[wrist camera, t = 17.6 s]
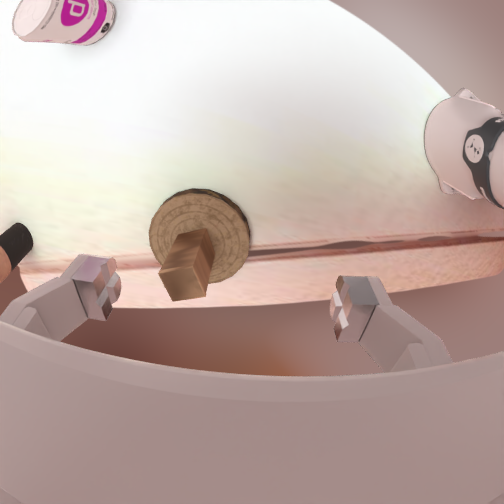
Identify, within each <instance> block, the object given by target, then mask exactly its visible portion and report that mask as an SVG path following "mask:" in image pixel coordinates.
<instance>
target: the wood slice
mask: <svg viewBox="0 0 504 504" xmlns="http://www.w3.org/2000/svg"><path fill="white" fill-rule="evenodd" d="M204 228H206V229H207V232H208V234H209V237H210V240H211V243H212V246H213V248H214V251H215V257H214V261H213V265H212V270H211V274H210V278H209V282H208V284H211V283H217V282H221V281H223V280H225V279H227V278H229V277H232V276H233V275H234V274H235V273H236V272H237V271H238V270H239V269H240V268H241V267H242V266H243V264H244V262H245V260H246V258H247V256H248V251H249V240H250V231H249V227H248V223H247V220H246V217H245V216H244V215H243V213H242V212H241V210H240V209H239V207H238V206H237V205H236V204H235V203H233V202H232V201H231V200H230V199H228V198H227V197H226V196H224V195H222V194H219V193H217V192H214V191H211V190H207V189H189V190H185V191H181V192H178V193H176V194H174V195H173V196H171V197H170V198H168V199H167V200H166V201H165V202H164V203H163V204H162V205H161V207H160V208H159V210H158V211H157V212H156V214H155V215H154V217H153V218H152V221H151V225H150V229H149V240H150V247H151V249H152V251H153V253H154V255H155V258H156V259H157V261H158V262H159V263H160V264H161V265H162V266H163V264H164V261H165V259H166V257H167V255H168V253H169V251H170V249H171V247H172V245H173V243H174V241H175V239H176V237H177V235H178V234H181V233H186V232H190V231H195V230H199V229H204Z"/></svg>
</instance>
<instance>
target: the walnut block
mask: <svg viewBox="0 0 504 504" xmlns="http://www.w3.org/2000/svg"><path fill="white" fill-rule="evenodd" d="M214 257H215V251H214V248H213V246H212V243H211V240H210V237H209V234H208V232H207V229H206V228H204V229H199V230H195V231H190V232H186V233H181V234H178V235H177V237H176V239H175V241H174V243H173V245H172V247H171V249H170V251H169V253H168V255H167V257H166V259H165V261H164V264H163V266H162V268H161V270H160V271H159V273H158V274H159V276H160V278H161V280H162V282H163V284H164V286H165V288H166V290H167V292H168V294H169V296H170V297H171V299H172V301H180V300H187V299H194V298H201V297H206V290H207V286H208V282H209V278H210V274H211V270H212V265H213V261H214Z"/></svg>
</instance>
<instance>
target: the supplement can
mask: <svg viewBox="0 0 504 504" xmlns="http://www.w3.org/2000/svg"><path fill="white" fill-rule="evenodd" d="M114 15H115V12H114V6H113V5H112V4H111V2H110V1H107V0H21V2H20V3H19V4H18V6H17V9H16V11H15V13H14V16H13V20H12V30H13V33H14V35H16V36H18V37H19V38H20V39H21V40H23V41H25V42H51V43H65V44H75V45H89V44H92V43H95V42H96V41H98V40H99V39H101V38H102V37H103V36H104V35H105V34H106V32H107V31H108V30H109V28H110V26H111V25H112V23H113V19H114Z"/></svg>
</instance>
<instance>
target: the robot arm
mask: <svg viewBox="0 0 504 504" xmlns="http://www.w3.org/2000/svg"><path fill="white" fill-rule="evenodd" d="M501 113H502V112H501V111H500V110H499V109H497V108H495V107H494V106H493V105H491V104H488V103H484V102H482V101H481V100H480V99H479V98H478V97H477V96H475V95H474V94H473V93H472V92H471V91H469V90H468V89H465V88H461V89H460V90H459V91H458V92H457V93H456V94H455V96H454V97H452V98H449V99H446V100H444V101H442V102H441V103H439V104H438V105H437V106H436V107H435V108H434V109H433V111H432V112H431V114H430V116H429V118H428V121H427V124H426V129H425V150H426V155H427V158H428V161H429V163H430V165H431V167H432V168H433V170H434V171H435V173H436V174H437V176H438V178H439V183H440V187H441V190H442V191H443V192H444V193H446V194H464V195H465V196H467V197H468V198H470V199H472V200H474V199H475V198H476V199H482V198H486V199H487V200H488V201H489V202H491V203H492V204H494V205H496V206H498V207H500V208H503V209H504V115H503V114H501ZM116 269H117V264H116V260H115V259H114V258H113V257H105V256H97V255H88V254H80V255H78V256H77V257H76V258H75V260H74V261H73V262H72V263H71V264H70V266H69V267H68V268H67V269H66V270H65V272H64V273H63V274H62V275H61V276H60V277H56V278H54V279H52V280H50V281H48V282H46V283H44V284H42V285H40V286H39V287H37V288H35V289H33V290H31V291H29V292H27V293H25V294H24V295H22V296H20V297H18V298H17V299H15V300H13V301H12V302H11V303H10V304H9V306H8V307H7V308H6V309H5V311H4V312H3V314H2V315H1V316H0V504H504V351H502V352H499V353H495V354H491V355H487V356H483V357H479V358H475V359H471V360H465V361H461V362H455V363H453V361H452V359H451V357H450V355H449V353H448V351H447V349H446V347H445V345H444V343H443V341H442V339H440V338H439V337H438V336H436V335H435V334H434V333H433V332H431V331H430V330H429V329H427V328H426V327H425V326H423V325H422V324H421V323H420V322H418V321H417V320H415V319H414V318H413V317H412V316H410V315H409V314H407V313H406V312H405V311H403V310H402V309H401V308H399V307H398V306H397V305H393V304H392V302H391V300H390V298H389V296H388V294H387V292H386V290H385V288H384V286H383V284H382V282H381V280H380V279H379V278H378V277H372V276H365V277H359V276H339V277H338V279H337V282H336V288H337V291H336V292H335V293H333V294H332V298H331V302H330V315H331V319H332V320H333V321H334V322H335V326H334V332H335V336H336V340H337V342H359V345H360V346H361V347H362V348H363V349H364V350H365V351H366V352H367V353H368V355H369V356H370V357H371V358H372V359H373V360H374V361H375V362H376V364H377V365H378V366H379V367H380V368H381V369H382V370H383V371H384V373H376V374H363V375H346V376H312V377H311V376H309V377H299V376H297V377H296V376H291V377H290V376H261V375H244V374H230V373H219V372H210V371H201V370H193V369H185V368H177V367H171V366H164V365H158V364H153V363H147V362H141V361H136V360H131V359H126V358H121V357H117V356H112V355H107V354H103V353H99V352H95V351H91V350H87V349H84V348H80V347H76V346H73V345H69V344H65V343H62V342H60V341H61V340H62V339H63V338H65V337H66V336H67V335H68V334H70V333H71V332H72V331H73V330H75V329H76V328H77V327H78V326H80V325H81V324H82V323H83V322H85V321H86V320H87V319H88V318H91V319H97V320H103V321H106V320H107V319H108V317H109V315H110V313H111V311H112V309H113V308H112V305H111V304H113V303H114V302H116V301H117V300H118V298H119V296H120V292H121V280H120V277H119V276H118V274H117V273H116V272H115V271H116Z"/></svg>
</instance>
